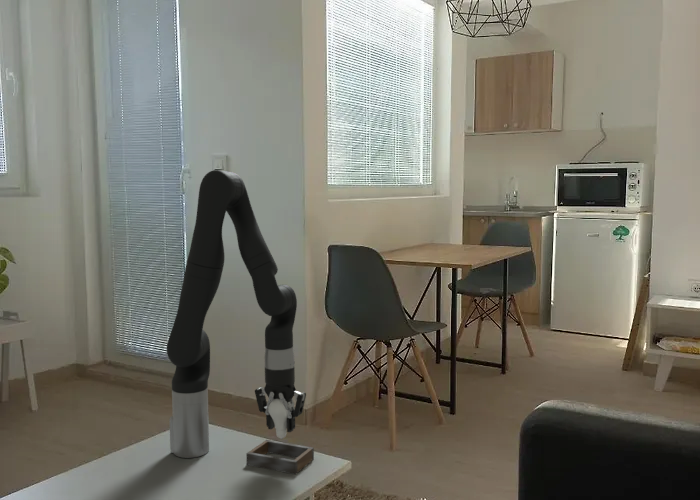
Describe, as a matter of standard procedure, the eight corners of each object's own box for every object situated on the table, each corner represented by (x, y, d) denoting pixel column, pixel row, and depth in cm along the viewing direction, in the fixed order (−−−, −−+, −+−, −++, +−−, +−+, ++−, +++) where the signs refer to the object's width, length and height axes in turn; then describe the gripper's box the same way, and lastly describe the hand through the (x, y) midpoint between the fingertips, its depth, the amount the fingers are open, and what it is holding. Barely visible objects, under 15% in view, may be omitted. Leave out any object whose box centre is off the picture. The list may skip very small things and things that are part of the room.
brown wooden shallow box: (246, 464, 173) (246, 453, 172) (266, 450, 182) (266, 439, 181) (295, 474, 167) (295, 462, 167) (313, 458, 176) (313, 447, 176)
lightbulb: (289, 443, 170) (288, 400, 169) (266, 442, 172) (264, 399, 171) (296, 434, 176) (294, 393, 175) (273, 433, 178) (272, 392, 177)
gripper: (247, 365, 171) (249, 431, 173) (297, 371, 166) (299, 438, 167) (262, 358, 178) (263, 421, 180) (311, 363, 173) (312, 428, 174)
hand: (281, 429), depth 174 cm, fingers closed on lightbulb, 5 cm apart
